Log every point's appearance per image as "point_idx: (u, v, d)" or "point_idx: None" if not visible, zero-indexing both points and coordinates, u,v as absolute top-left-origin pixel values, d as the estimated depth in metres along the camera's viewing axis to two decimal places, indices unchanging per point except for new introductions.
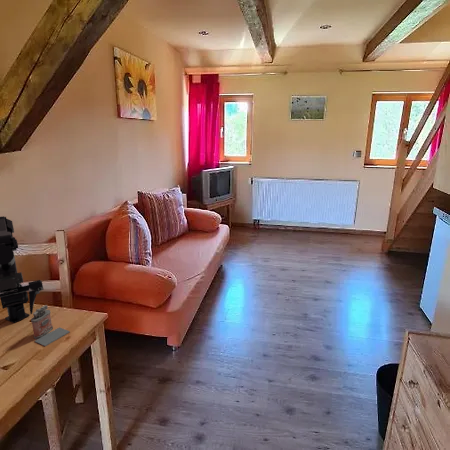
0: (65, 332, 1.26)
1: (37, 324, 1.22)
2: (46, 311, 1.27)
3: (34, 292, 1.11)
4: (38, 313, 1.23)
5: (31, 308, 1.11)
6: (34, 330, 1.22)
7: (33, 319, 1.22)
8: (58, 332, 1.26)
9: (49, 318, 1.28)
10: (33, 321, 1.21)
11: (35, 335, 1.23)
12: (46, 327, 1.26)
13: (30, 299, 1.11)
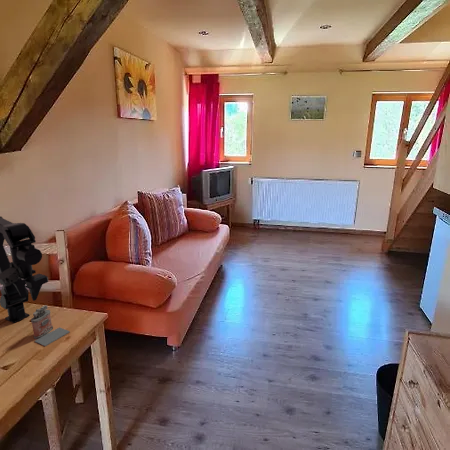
0: (65, 332, 1.26)
1: (37, 324, 1.22)
2: (46, 311, 1.27)
3: (28, 288, 1.20)
4: (38, 313, 1.23)
5: (32, 297, 1.23)
6: (34, 330, 1.22)
7: (33, 319, 1.22)
8: (58, 332, 1.26)
9: (49, 318, 1.28)
10: (33, 321, 1.21)
11: (35, 335, 1.23)
12: (46, 327, 1.26)
13: (30, 290, 1.22)
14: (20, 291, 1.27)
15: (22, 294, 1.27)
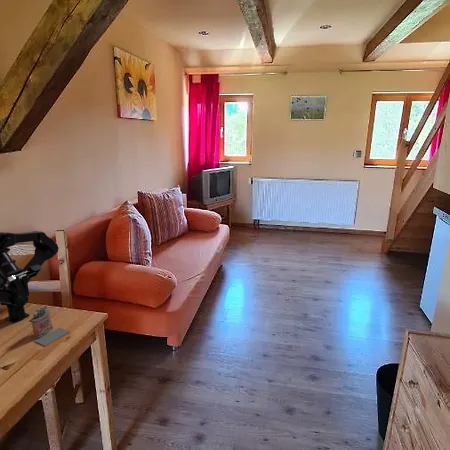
0: (65, 332, 1.26)
1: (37, 324, 1.22)
2: (46, 311, 1.27)
3: None
4: (38, 313, 1.23)
5: None
6: (34, 330, 1.22)
7: (33, 319, 1.22)
8: (58, 332, 1.26)
9: (49, 318, 1.28)
10: (33, 321, 1.21)
11: (35, 335, 1.23)
12: (46, 327, 1.26)
13: None
14: None
15: None
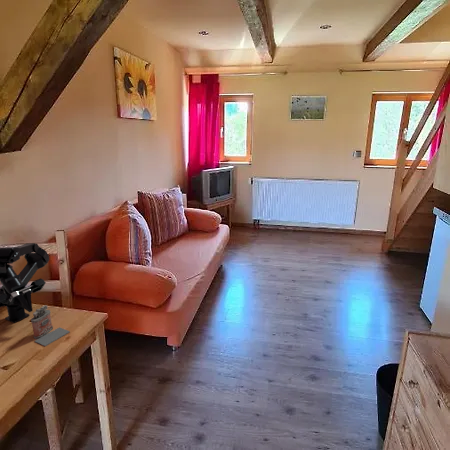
0: (65, 332, 1.26)
1: (37, 324, 1.22)
2: (46, 311, 1.27)
3: None
4: (38, 313, 1.23)
5: None
6: (34, 330, 1.22)
7: (33, 319, 1.22)
8: (58, 332, 1.26)
9: (49, 318, 1.28)
10: (33, 321, 1.21)
11: (35, 335, 1.23)
12: (46, 327, 1.26)
13: None
14: None
15: None
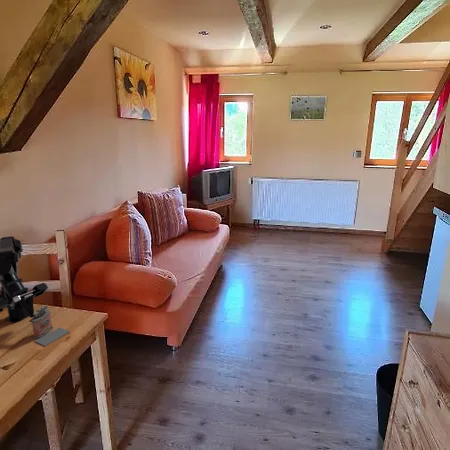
0: (65, 332, 1.26)
1: (37, 324, 1.22)
2: (46, 311, 1.27)
3: None
4: (38, 313, 1.23)
5: None
6: (34, 330, 1.22)
7: (33, 319, 1.22)
8: (58, 332, 1.26)
9: (49, 318, 1.27)
10: (33, 321, 1.21)
11: (35, 335, 1.23)
12: (46, 327, 1.26)
13: None
14: None
15: None
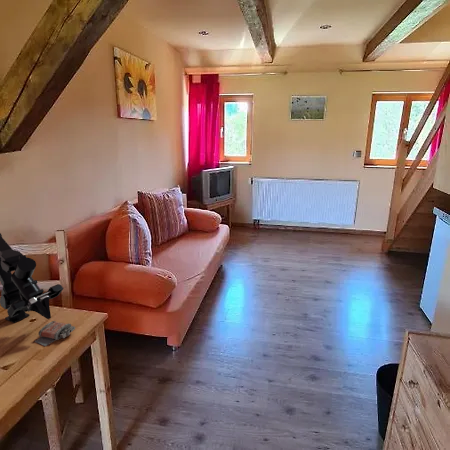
0: None
1: None
2: (69, 327, 1.26)
3: None
4: None
5: None
6: (46, 335, 1.22)
7: (57, 336, 1.21)
8: None
9: None
10: (55, 338, 1.21)
11: (42, 335, 1.22)
12: None
13: None
14: None
15: None
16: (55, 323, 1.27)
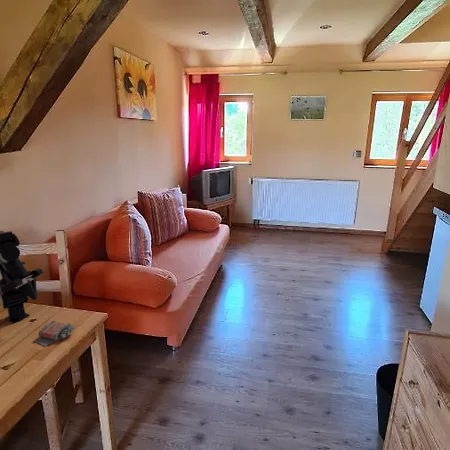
0: None
1: None
2: (68, 327, 1.26)
3: None
4: None
5: None
6: (46, 336, 1.21)
7: (57, 336, 1.21)
8: None
9: None
10: (55, 339, 1.21)
11: (42, 335, 1.22)
12: None
13: None
14: None
15: None
16: (55, 323, 1.27)
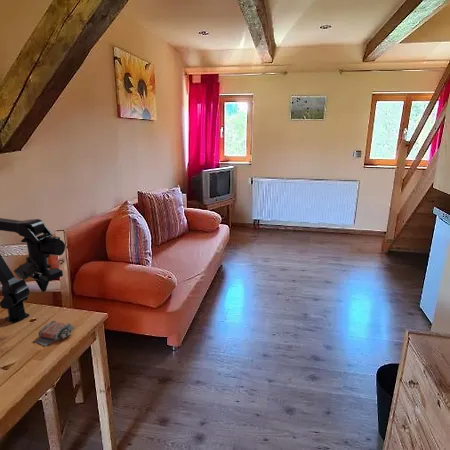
0: None
1: None
2: (68, 327, 1.26)
3: (38, 279, 1.26)
4: None
5: (41, 288, 1.30)
6: (46, 336, 1.21)
7: (57, 336, 1.21)
8: None
9: None
10: (55, 339, 1.21)
11: (42, 335, 1.22)
12: None
13: (39, 282, 1.28)
14: None
15: None
16: (55, 323, 1.27)
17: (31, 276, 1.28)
